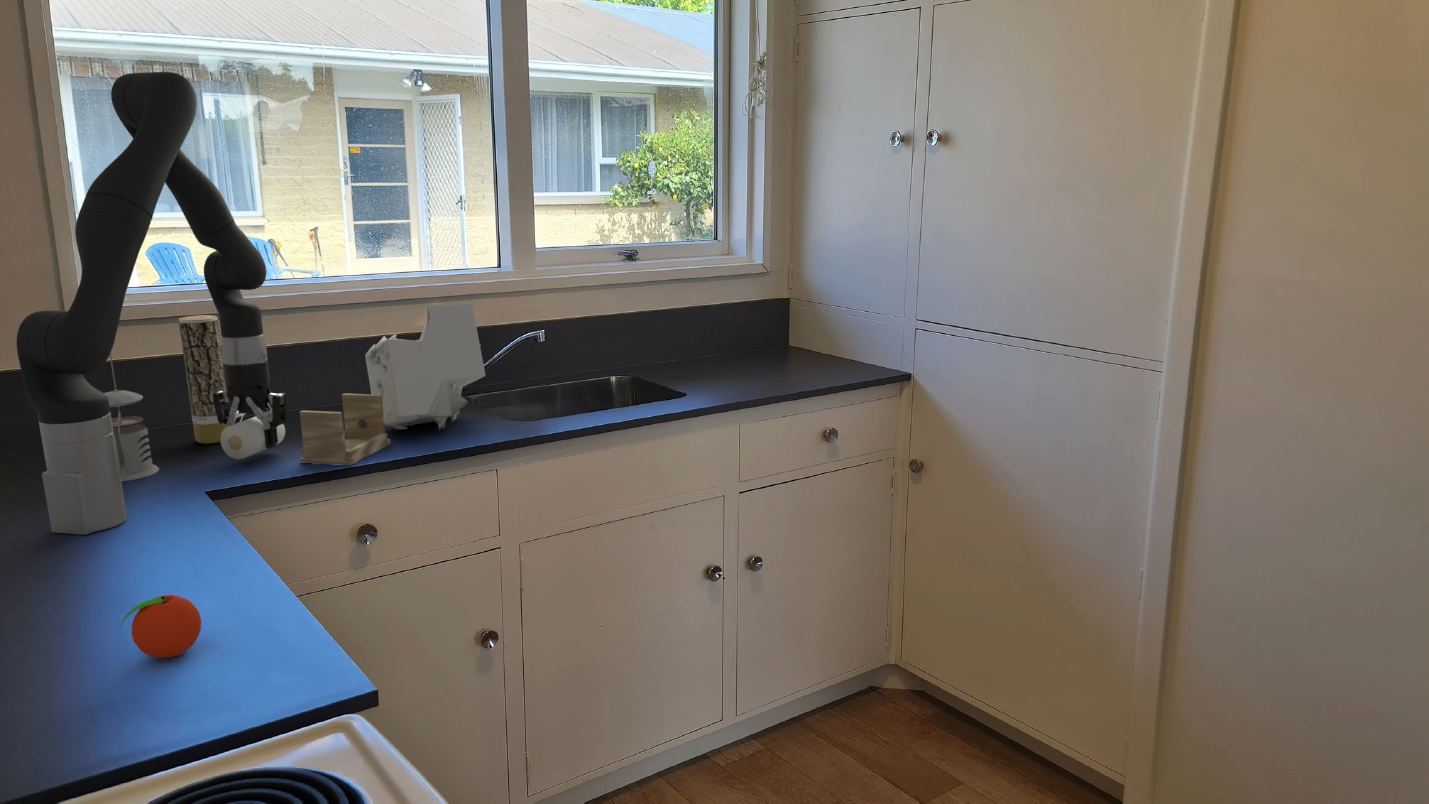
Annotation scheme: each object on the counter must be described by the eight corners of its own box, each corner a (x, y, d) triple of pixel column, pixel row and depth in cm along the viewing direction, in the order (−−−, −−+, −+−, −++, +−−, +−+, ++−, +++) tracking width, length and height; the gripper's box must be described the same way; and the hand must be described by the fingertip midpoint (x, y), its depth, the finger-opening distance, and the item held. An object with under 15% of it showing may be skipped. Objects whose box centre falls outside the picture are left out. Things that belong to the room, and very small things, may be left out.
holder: (349, 466, 181) (344, 413, 179) (300, 463, 183) (294, 411, 181) (390, 443, 196) (386, 395, 193) (344, 441, 198) (340, 393, 195)
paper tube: (217, 445, 195) (201, 321, 190) (187, 443, 197) (170, 320, 191) (240, 436, 202) (224, 315, 196) (211, 434, 203) (195, 314, 197)
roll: (252, 460, 180) (247, 426, 179) (221, 459, 181) (216, 425, 180) (288, 444, 190) (284, 412, 189) (258, 443, 192) (254, 412, 190)
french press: (163, 462, 184) (143, 330, 179) (153, 480, 174) (132, 341, 168) (102, 468, 181) (81, 334, 175) (89, 487, 170) (65, 345, 165)
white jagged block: (396, 434, 192) (373, 309, 194) (374, 444, 205) (353, 327, 207) (494, 419, 204) (472, 302, 205) (467, 429, 217) (446, 319, 218)
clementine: (129, 678, 107) (119, 618, 105) (121, 654, 112) (112, 596, 110) (210, 657, 111) (202, 599, 109) (199, 634, 117) (191, 578, 115)
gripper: (196, 361, 180) (207, 449, 183) (267, 364, 177) (276, 453, 181) (224, 354, 187) (234, 439, 191) (292, 357, 184) (301, 443, 188)
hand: (254, 446), depth 186 cm, fingers closed on roll, 6 cm apart
